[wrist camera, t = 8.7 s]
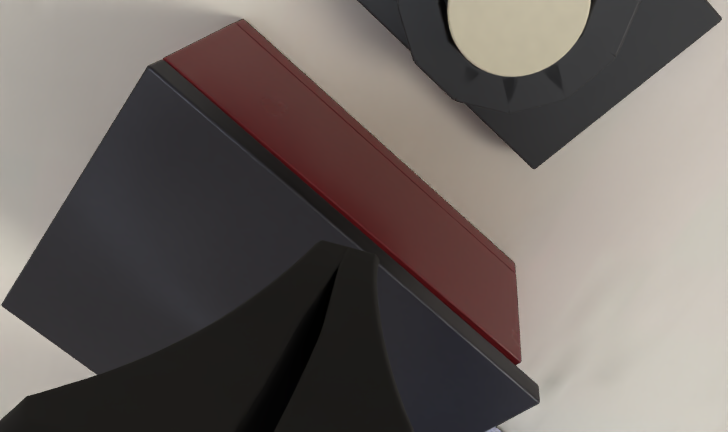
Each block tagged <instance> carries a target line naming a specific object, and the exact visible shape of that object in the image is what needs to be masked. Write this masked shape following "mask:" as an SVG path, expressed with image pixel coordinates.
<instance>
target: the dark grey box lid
mask: <svg viewBox="0 0 728 432" xmlns="http://www.w3.org/2000/svg"><path fill="white" fill-rule="evenodd" d="M321 240H324V241H328V242H332V243H336V244H339V245H343V246H347V247H351V248H355V249H359V250H362V251H366V252H370V253H374V254H376V255H377V256H378V258H379V259H380V261H379V265H378V272H377V290H378V303H379V311H380V318H381V325H382V330H383V335H384V340H385V345H386V349H387V353H388V357H389V361H390V365H391V369H392V372H393V375H394V379H395V382H396V385H397V388H398V391H399V394H400V397H401V399H402V402H403V405H404V408H405V411H406V413H407V416H408V418H409V420H410V423H411V425H412V427H413V429H414V432H486V431H488V430H490V429H492V428H494V427H496V426H497V425H499V424H501V423H503V422H505V421H507V420H509V419H511V418H513V417H514V416H516V415H518V414H520V413H522V412H524V411H526V410H528V409H530V408H531V407H533V406H535V405H537V404H539V402H540V398H539V387H538V385H537V384H536V383H535V382H534V381H533V380H532V379H530V378H529V377H528V376H527V375H526V374H525V373H524V372H522V371H521V370H520V369H519V368H518V367H517V366H516V365H514V364H513V363H512V362H511V361H510V360H509V359H507V358H506V357H505V356H504V355H503V354H502V353H501V352H499V351H498V350H497V349H496V348H495V347H494V346H493V345H491V344H490V343H489V342H488V341H487V340H486V339H484V338H483V337H482V336H481V335H480V334H479V333H478V332H476V331H475V330H474V329H473V328H472V327H471V326H469V325H468V324H467V323H466V322H465V321H464V320H463V319H461V318H460V317H459V316H458V315H457V314H456V313H455V312H453V311H452V310H451V309H450V308H449V307H448V306H446V305H445V304H444V303H443V302H442V301H441V300H440V299H438V298H437V297H436V296H435V295H434V294H433V293H431V292H430V291H429V290H428V289H427V288H426V287H425V286H423V285H422V284H421V283H420V282H419V281H418V280H417V279H415V278H414V277H413V276H412V275H411V274H410V273H408V272H407V271H406V270H405V269H404V268H403V267H402V266H400V265H399V264H398V263H397V262H396V261H395V260H393V259H392V258H391V257H390V256H389V255H388V254H387V253H385V252H384V251H383V250H382V249H381V248H380V247H379V246H377V245H376V244H375V243H374V242H373V241H372V240H370V239H369V238H368V237H367V236H366V235H365V234H364V233H362V232H361V231H360V230H359V229H358V228H357V227H356V226H354V225H353V224H352V223H351V222H350V221H349V220H347V219H346V218H345V217H344V216H343V215H342V214H341V213H339V212H338V211H337V210H336V209H335V208H334V207H332V206H331V205H330V204H329V203H328V202H327V201H326V200H324V199H323V198H322V197H321V196H320V195H319V194H318V193H316V192H315V191H314V190H313V189H312V188H311V187H309V186H308V185H307V184H306V183H305V182H304V181H303V180H301V179H300V178H299V177H298V176H297V175H296V174H294V173H293V172H292V171H291V170H290V169H289V168H288V167H286V166H285V165H284V164H283V163H282V162H281V161H280V160H278V159H277V158H276V157H275V156H274V155H273V154H271V153H270V152H269V151H268V150H267V149H266V148H265V147H263V146H262V145H261V144H260V143H259V142H258V141H256V140H255V139H254V138H253V137H252V136H251V135H250V134H248V133H247V132H246V131H245V130H244V129H243V128H242V127H240V126H239V125H238V124H237V123H236V122H235V121H233V120H232V119H231V118H230V117H229V116H228V115H227V114H225V113H224V112H223V111H222V110H221V109H220V108H219V107H217V106H216V105H215V104H214V103H213V102H212V101H210V100H209V99H208V98H207V97H206V96H205V95H204V94H202V93H201V92H200V91H199V90H198V89H197V88H195V87H194V86H193V85H192V84H191V83H190V82H189V81H187V80H186V79H185V78H184V77H183V76H182V75H181V74H179V73H178V72H177V71H176V70H175V69H174V68H172V67H171V66H170V65H169V64H168V63H167V62H166V61H164V60H160V61H157V62H155V63H153V64H151V65H149V66H147V68H146V70H145V71H144V73H143V74H142V76H141V78H140V79H139V81H138V83H137V84H136V86H135V87H134V89H133V91H132V92H131V94H130V96H129V97H128V99H127V100H126V102H125V104H124V105H123V107H122V109H121V110H120V112H119V114H118V115H117V117H116V118H115V120H114V122H113V123H112V125H111V127H110V128H109V130H108V131H107V133H106V135H105V136H104V138H103V140H102V141H101V143H100V144H99V146H98V148H97V149H96V151H95V153H94V154H93V156H92V158H91V159H90V161H89V162H88V164H87V166H86V167H85V169H84V171H83V172H82V174H81V175H80V177H79V179H78V180H77V182H76V184H75V185H74V187H73V188H72V190H71V192H70V193H69V195H68V197H67V198H66V200H65V202H64V203H63V205H62V206H61V208H60V210H59V211H58V213H57V215H56V216H55V218H54V219H53V221H52V223H51V224H50V226H49V228H48V229H47V231H46V232H45V234H44V236H43V237H42V239H41V241H40V242H39V244H38V246H37V247H36V249H35V250H34V252H33V254H32V255H31V257H30V259H29V260H28V262H27V263H26V265H25V267H24V268H23V270H22V272H21V273H20V275H19V276H18V278H17V280H16V281H15V283H14V285H13V286H12V288H11V290H10V291H9V293H8V294H7V296H6V298H5V299H4V301H3V303H2V304H1V305H2V307H4V308H5V309H7V310H8V311H9V312H11V313H12V314H13V315H15V316H16V317H18V318H19V319H20V320H22V321H23V322H25V323H26V324H27V325H29V326H30V327H32V328H33V329H34V330H36V331H37V332H38V333H40V334H41V335H43V336H44V337H45V338H47V339H48V340H50V341H51V342H52V343H54V344H55V345H57V346H58V347H59V348H61V349H62V350H64V351H65V352H66V353H68V354H69V355H70V356H72V357H73V358H75V359H76V360H77V361H79V362H80V363H82V364H83V365H84V366H86V367H87V368H89V369H90V370H91V371H93V372H94V373H95V374H97V375H99V374H102V373H105V372H107V371H110V370H113V369H115V368H118V367H121V366H123V365H126V364H128V363H131V362H133V361H136V360H138V359H141V358H143V357H146V356H148V355H150V354H153V353H155V352H157V351H159V350H161V349H164V348H166V347H168V346H170V345H172V344H174V343H176V342H178V341H180V340H182V339H184V338H186V337H188V336H190V335H192V334H193V333H195V332H197V331H199V330H201V329H203V328H204V327H206V326H208V325H210V324H211V323H213V322H215V321H216V320H218V319H220V318H221V317H223V316H225V315H226V314H228V313H229V312H231V311H232V310H234V309H235V308H237V307H238V306H240V305H241V304H243V303H244V302H246V301H247V300H248V299H250V298H251V297H253V296H254V295H256V294H257V293H258V292H260V291H261V290H262V289H264V288H265V287H266V286H268V285H269V284H270V283H271V282H273V281H274V280H275V279H276V278H278V277H279V276H280V275H281V274H283V273H284V272H285V271H286V270H288V269H289V268H290V267H291V266H292V265H293V264H295V263H296V262H297V261H298V260H299V259H300V258H301V257H302V256H303V255H305V254H306V253H307V252H308V251H309V250H310V249H311V248H312V247H313V246H314V245H315V244H316V243H317V242H319V241H321Z"/></svg>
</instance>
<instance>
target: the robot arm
mask: <svg viewBox="0 0 728 432" xmlns="http://www.w3.org/2000/svg"><path fill="white" fill-rule="evenodd" d="M379 261H380V259H379V258H378V256H377V255H376V254H374V253H370V252H366V251H362V250H359V249H355V248H351V247H347V246H343V245H339V244H336V243H332V242H328V241H324V240H321V241H319V242H317V243H316V244H315V245H314V246H313V247H312V248H311V249H310V250H309V251H308V252H307V253H306V254H305V255H303V256H302V257H301V258H300V259H299V260H298V261H297V262H296V263H295V264H293V265H292V266H291V267H290V268H289V269H288V270H286V271H285V272H284V273H283V274H281V275H280V276H279V277H278V278H276V279H275V280H274V281H273V282H271V283H270V284H269V285H268V286H266V287H265V288H264V289H262V290H261V291H260V292H258V293H257V294H256V295H254V296H253V297H251V298H250V299H248V300H247V301H246V302H244V303H243V304H241V305H240V306H238V307H237V308H235V309H234V310H232V311H231V312H229V313H228V314H226V315H225V316H223V317H221V318H220V319H218V320H216V321H215V322H213V323H211V324H210V325H208V326H206V327H204V328H203V329H201V330H199V331H197V332H195V333H193V334H192V335H190V336H188V337H186V338H184V339H182V340H180V341H178V342H176V343H174V344H172V345H170V346H168V347H166V348H164V349H161V350H159V351H157V352H155V353H153V354H150V355H148V356H146V357H143V358H141V359H138V360H136V361H133V362H131V363H128V364H126V365H123V366H121V367H118V368H115V369H113V370H110V371H107V372H105V373H102V374H99V375H96V376H93V377H90V378H87V379H84V380H81V381H77V382H74V383H71V384H67V385H64V386H61V387H57V388H54V389H51V390H48V391H44V392H41V393H37V394H34V395H30V396H27V397H25V398H24V399H23V400H22V401H21V402H20V403H19V404H18V405H17V406H16V407H15V408H14V409H12V410H11V411H10V412H9V413H8V414H7V415H6V416H5V417H3V418H2V419H1V420H0V432H414V429H413V427H412V425H411V423H410V420H409V418H408V416H407V413H406V411H405V408H404V405H403V402H402V399H401V397H400V394H399V391H398V388H397V385H396V382H395V379H394V375H393V372H392V369H391V365H390V361H389V357H388V353H387V349H386V345H385V340H384V335H383V330H382V325H381V318H380V311H379V303H378V290H377V272H378V265H379ZM486 432H502V431H500V430H499V429H498V428H497V427H494V428H492V429H490V430H488V431H486Z"/></svg>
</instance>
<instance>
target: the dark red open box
mask: <svg viewBox="0 0 728 432" xmlns="http://www.w3.org/2000/svg"><path fill="white" fill-rule="evenodd" d="M163 60H164V61H166V62H167V63H168V64H169V65H170V66H171V67H172V68H174V69H175V70H176V71H177V72H178V73H179V74H181V75H182V76H183V77H184V78H185V79H186V80H187V81H189V82H190V83H191V84H192V85H193V86H194V87H195V88H197V89H198V90H199V91H200V92H201V93H202V94H204V95H205V96H206V97H207V98H208V99H209V100H210V101H212V102H213V103H214V104H215V105H216V106H217V107H219V108H220V109H221V110H222V111H223V112H224V113H225V114H227V115H228V116H229V117H230V118H231V119H232V120H233V121H235V122H236V123H237V124H238V125H239V126H240V127H242V128H243V129H244V130H245V131H246V132H247V133H248V134H250V135H251V136H252V137H253V138H254V139H255V140H256V141H258V142H259V143H260V144H261V145H262V146H263V147H265V148H266V149H267V150H268V151H269V152H270V153H271V154H273V155H274V156H275V157H276V158H277V159H278V160H280V161H281V162H282V163H283V164H284V165H285V166H286V167H288V168H289V169H290V170H291V171H292V172H293V173H294V174H296V175H297V176H298V177H299V178H300V179H301V180H303V181H304V182H305V183H306V184H307V185H308V186H309V187H311V188H312V189H313V190H314V191H315V192H316V193H318V194H319V195H320V196H321V197H322V198H323V199H324V200H326V201H327V202H328V203H329V204H330V205H331V206H332V207H334V208H335V209H336V210H337V211H338V212H339V213H341V214H342V215H343V216H344V217H345V218H346V219H347V220H349V221H350V222H351V223H352V224H353V225H354V226H356V227H357V228H358V229H359V230H360V231H361V232H362V233H364V234H365V235H366V236H367V237H368V238H369V239H370V240H372V241H373V242H374V243H375V244H376V245H377V246H379V247H380V248H381V249H382V250H383V251H384V252H385V253H387V254H388V255H389V256H390V257H391V258H392V259H393V260H395V261H396V262H397V263H398V264H399V265H400V266H402V267H403V268H404V269H405V270H406V271H407V272H408V273H410V274H411V275H412V276H413V277H414V278H415V279H417V280H418V281H419V282H420V283H421V284H422V285H423V286H425V287H426V288H427V289H428V290H429V291H430V292H431V293H433V294H434V295H435V296H436V297H437V298H438V299H440V300H441V301H442V302H443V303H444V304H445V305H446V306H448V307H449V308H450V309H451V310H452V311H453V312H455V313H456V314H457V315H458V316H459V317H460V318H461V319H463V320H464V321H465V322H466V323H467V324H468V325H469V326H471V327H472V328H473V329H474V330H475V331H476V332H478V333H479V334H480V335H481V336H482V337H483V338H484V339H486V340H487V341H488V342H489V343H490V344H491V345H493V346H494V347H495V348H496V349H497V350H498V351H499V352H501V353H502V354H503V355H504V356H505V357H506V358H507V359H509V360H510V361H511V362H512V363H513V364H514V365H517V364H519V363H521V345H520V329H519V314H518V298H517V282H516V274H515V273H516V271H515V263H514V262H513V261H512V260H511V259H509V258H508V257H507V256H506V255H505V254H504V253H503V252H502V251H501V250H499V249H498V248H497V247H496V246H495V245H494V244H493V243H492V242H491V241H489V240H488V239H487V238H486V237H485V236H484V235H483V234H482V233H481V232H479V231H478V230H477V229H476V228H475V227H474V226H473V225H472V224H471V223H469V222H468V221H467V220H466V219H465V218H464V217H463V216H462V215H461V214H459V213H458V212H457V211H456V210H455V209H454V208H453V207H452V206H451V205H449V204H448V203H447V202H446V201H445V200H444V199H443V198H442V197H441V196H439V195H438V194H437V193H436V192H435V191H434V190H433V189H432V188H431V187H429V186H428V185H427V184H426V183H425V182H424V181H423V180H422V179H421V178H419V177H418V176H417V175H416V174H415V173H414V172H413V171H412V170H411V169H409V168H408V167H407V166H406V165H405V164H404V163H403V162H402V161H401V160H399V159H398V158H397V157H396V156H395V155H394V154H393V153H392V152H391V151H389V150H388V149H387V148H386V147H385V146H384V145H383V144H382V143H381V142H379V141H378V140H377V139H376V138H375V137H374V136H373V135H372V134H371V133H370V132H368V131H367V130H366V129H365V128H364V127H363V126H362V125H361V124H360V123H358V122H357V121H356V120H355V119H354V118H353V117H352V116H351V115H350V114H348V113H347V112H346V111H345V110H344V109H343V108H342V107H341V106H340V105H338V104H337V103H336V102H335V101H334V100H333V99H332V98H331V97H330V96H328V95H327V94H326V93H325V92H324V91H323V90H322V89H321V88H320V87H318V86H317V85H316V84H315V83H314V82H313V81H312V80H311V79H310V78H308V77H307V76H306V75H305V74H304V73H303V72H302V71H301V70H300V69H298V68H297V67H296V66H295V65H294V64H293V63H292V62H291V61H290V60H288V59H287V58H286V57H285V56H284V55H283V54H282V53H281V52H280V51H278V50H277V49H276V48H275V47H274V46H273V45H272V44H271V43H270V42H268V41H267V40H266V39H265V38H264V37H263V36H262V35H261V34H260V33H258V32H257V31H256V30H255V29H254V28H253V27H252V26H251V25H250V24H248V23H247V22H246V21H245V20H244V19H241V20H239V21H237V22H235V23H232V24H230V25H228V26H226V27H224V28H222V29H220V30H218V31H216V32H214V33H212V34H210V35H208V36H206V37H204V38H202V39H200V40H198V41H196V42H194V43H192V44H190V45H188V46H186V47H184V48H182V49H180V50H178V51H176V52H174V53H172V54H170V55H168V56H166V57H164V58H163Z"/></svg>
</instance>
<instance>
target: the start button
mask: <svg viewBox="0 0 728 432" xmlns="http://www.w3.org/2000/svg"><path fill="white" fill-rule="evenodd" d="M590 5H591V0H448V6H447V16H448V24H449V29H450V32H451V35H452V38H453V40H454V42H455V44H456V46H457V47H458V49H459V50H460V52H461V53H462V54H463V55H464V57H465V58H466V59H467V60H468V61H470V62H471V63H472V64H473V65H475V66H476V67H478V68H479V69H481V70H483V71H486V72H488V73H491V74H494V75H499V76H505V77H517V76H525V75H530V74H533V73H536V72H539V71H541V70H543V69H545V68H548V67H549V66H551V65H552V64H554V63H556V62H557V61H558V60H559V59H561V58H562V57H563V56H564V55H565V54H566V53H567V52H568V51H569V50H570V49H571V48H572V47H573V45H574V44H575V43H576V41H577V40H578V38H579V37H580V35H581V33H582V31H583V29H584V27H585V25H586V22H587V18H588V15H589V10H590Z"/></svg>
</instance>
